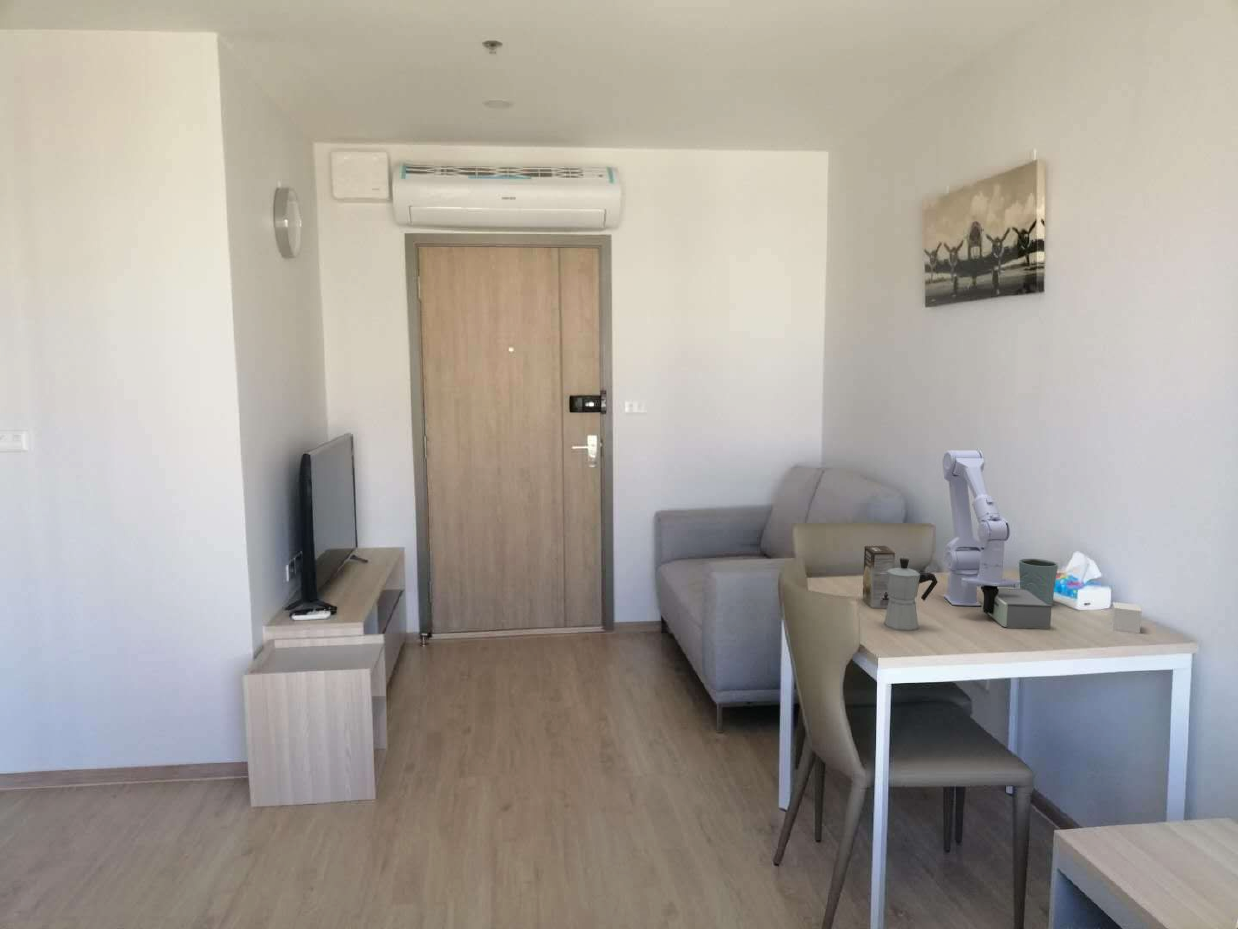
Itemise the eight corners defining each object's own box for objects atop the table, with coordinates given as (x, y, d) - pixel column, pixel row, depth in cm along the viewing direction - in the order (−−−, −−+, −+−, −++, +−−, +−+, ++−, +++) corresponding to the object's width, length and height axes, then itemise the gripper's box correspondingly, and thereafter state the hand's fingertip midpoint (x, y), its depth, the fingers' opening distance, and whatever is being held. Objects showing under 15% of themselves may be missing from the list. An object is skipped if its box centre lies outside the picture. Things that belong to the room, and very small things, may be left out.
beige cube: (1137, 627, 220) (1139, 605, 219) (1139, 633, 214) (1141, 611, 213) (1110, 623, 222) (1112, 601, 221) (1112, 630, 217) (1114, 607, 216)
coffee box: (861, 599, 244) (863, 545, 242) (883, 599, 244) (885, 545, 242) (870, 608, 235) (873, 552, 233) (893, 608, 235) (896, 552, 233)
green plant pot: (1027, 607, 236) (1030, 566, 235) (1009, 597, 246) (1012, 558, 245) (1062, 607, 236) (1065, 566, 235) (1043, 597, 246) (1046, 557, 245)
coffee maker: (879, 629, 216) (882, 561, 214) (873, 619, 225) (876, 554, 223) (939, 632, 214) (942, 564, 212) (931, 622, 223) (934, 556, 221)
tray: (981, 608, 234) (982, 587, 233) (1022, 609, 233) (1024, 589, 232) (1002, 626, 218) (1003, 604, 217) (1046, 628, 217) (1048, 605, 216)
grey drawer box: (985, 609, 234) (986, 587, 233) (1026, 611, 233) (1027, 589, 232) (1006, 627, 218) (1007, 604, 217) (1050, 629, 217) (1051, 605, 216)
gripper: (968, 566, 222) (965, 616, 223) (1025, 568, 220) (1021, 618, 222) (960, 560, 229) (957, 608, 230) (1015, 562, 227) (1011, 610, 229)
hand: (988, 612), depth 227 cm, fingers closed, pressing on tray
